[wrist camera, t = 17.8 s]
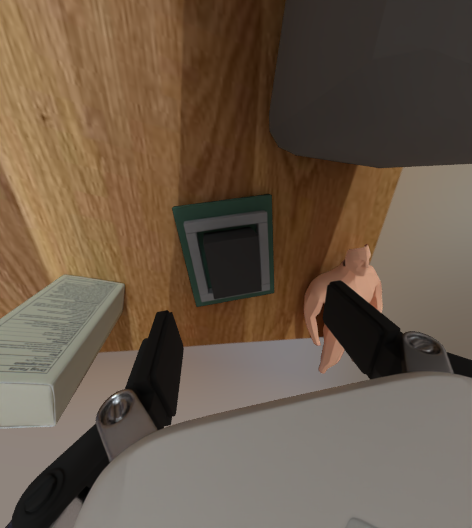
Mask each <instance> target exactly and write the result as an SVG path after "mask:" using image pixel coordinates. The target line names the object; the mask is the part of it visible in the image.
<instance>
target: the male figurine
mask: <svg viewBox="0 0 472 528" xmlns="http://www.w3.org/2000/svg"><path fill="white" fill-rule="evenodd" d="M364 246H365V247H364V248H357V249H349V250H348V251H347V253H346V257H345V260H344V261H343V262H342V263H341V264H340V265H339V266H337V267H336V268H334V269H332V270H330V271H328V272H326V273H323V274H320V275H319V276H318V277H316V278H315V279H314V280H312V282H311V283H310V285H309V287H308V289H307V291H306V293H305V300H304V316H305V321H306V325H307V328H308V330H309V333H310V335H311V338H312V340H313V342H314V344H315V345H317V346H320V345H321V344H320V340H319V337H318V328H317V322H316V318H315V317H316V316H317V315H318V314H319V313H320V310H321V308H322V305H323V302H324V304H325V298H326V291H327V286H328V285H329V283H330V282H332V281H338V280H341V281H343V282H344V283H345V284H346V285H348V286H349V287H350V288H351V289H353V290H354V291H355V292H356V293H357V294H359V295H360V296H361V297H362V298H364V299H365V300H366V301H367V302H368V303H370V304H371V305H372V306H373V307H375V308H376V309H377V310H378V311H379V312H381V313H382V307H383V304H382V286H381V281H380V279H379V278H378V276H377V274H376V272H375V270H374V268H373V266H371V265H369V258H370V256H371V253H370V249H369V247H368V244H366V245H364ZM323 335H324V345H323V350H322V354H321V363H320V366H319V371H320V372H321V373H325V372H326V371H327V369H328V368H330V367H331V366H333V365H335V364H337V362H339V361H340V358H341V356H342V354H343V352H344V351H345V350H344V348H343V347H342V346H341V344H340V343H339V342H338V340H337V339H336V338H335V337H334V335H333V334H332V333H331V331H330V330H329V329H328V327H327V326H326V325H325V324H324V328H323ZM352 361H353V360H352ZM353 362H354V361H353Z"/></svg>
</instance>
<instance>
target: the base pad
mask: <svg viewBox="0 0 472 528" xmlns="http://www.w3.org/2000/svg"><path fill="white" fill-rule="evenodd" d="M172 210H173V214H174V218H175V222H176V226H177V231H178V235H179V239H180V243H181V247H182V251H183V255H184V259H185V263H186V267H187V271H188V275H189V279H190V283H191V287H192V291H193V295H194V299H195V303H196V307H199V306H205V305H210V304H216V303H222V302H227V301H233V300H238V299H244V298H249V297H255V296H260V295H266V294H271V293H274V261H273V225H272V195H270V194H264V195H257V196H249V197H242V198H234V199H227V200H219V201H212V202H204V203H197V204H190V205H182V206H175V207H173V208H172ZM244 227H251V228H252V229H253V230H254V231H255V233H256V234H257V235H258V237H259V253H260V269H261V285H262V291H259V292H253V293H247V294H242V295H236V296H231V297H225V298H219V299H214V297H213V291H212V286H211V281H210V276H209V271H208V266H207V261H206V256H205V250H204V245H203V239H204V233H210V232H217V231H224V230H231V229H237V228H244Z"/></svg>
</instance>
